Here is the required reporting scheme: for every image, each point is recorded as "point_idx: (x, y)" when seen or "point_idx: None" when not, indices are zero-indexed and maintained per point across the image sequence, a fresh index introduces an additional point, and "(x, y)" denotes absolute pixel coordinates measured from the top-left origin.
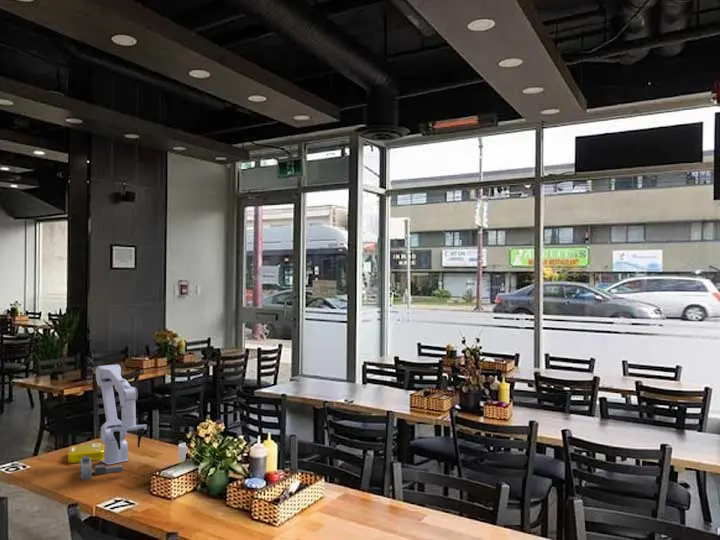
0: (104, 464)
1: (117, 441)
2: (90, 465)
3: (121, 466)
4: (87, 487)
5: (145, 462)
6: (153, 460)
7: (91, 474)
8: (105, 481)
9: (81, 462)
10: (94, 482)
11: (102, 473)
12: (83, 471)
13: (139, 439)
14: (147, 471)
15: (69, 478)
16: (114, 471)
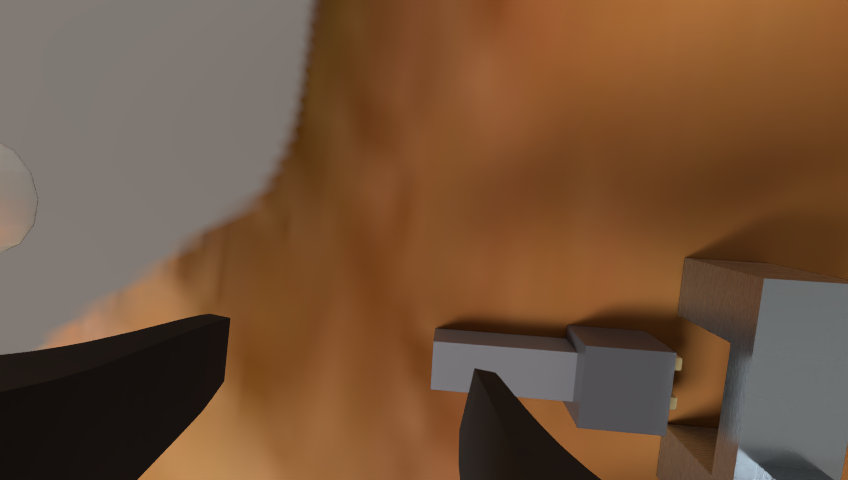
0: (582, 422)
1: (549, 446)
2: (773, 307)
3: (443, 350)
4: (753, 47)
5: (251, 454)
6: (191, 472)
7: (708, 264)
8: (596, 135)
9: (840, 454)
10: (680, 150)
11: (591, 328)
12: (809, 274)
13: (97, 346)
14: (265, 232)
15: None
16: (497, 335)
